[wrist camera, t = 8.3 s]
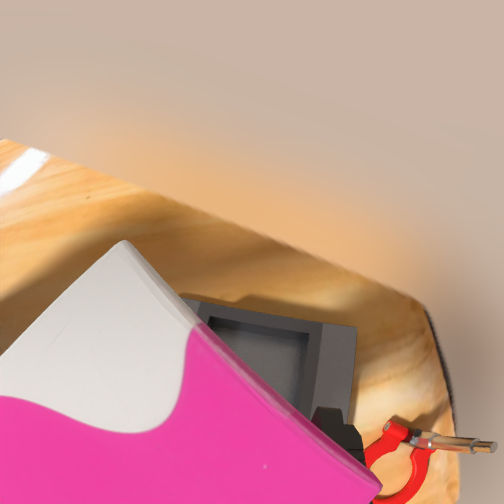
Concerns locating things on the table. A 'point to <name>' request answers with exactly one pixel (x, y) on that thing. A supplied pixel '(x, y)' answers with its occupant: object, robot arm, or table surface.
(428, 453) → the tow hook
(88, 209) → the table surface
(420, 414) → the table surface
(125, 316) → the supplement box
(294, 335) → the socket plate
